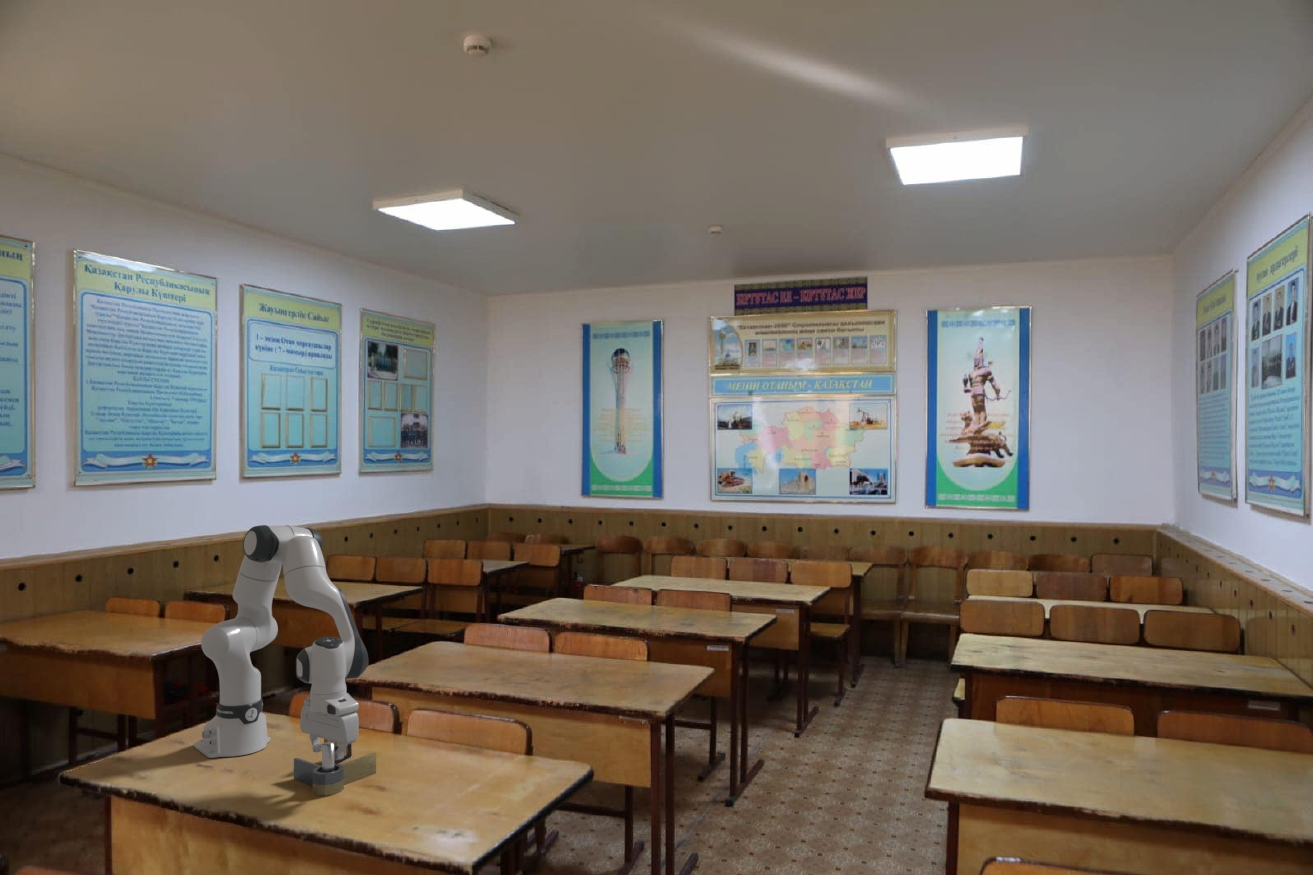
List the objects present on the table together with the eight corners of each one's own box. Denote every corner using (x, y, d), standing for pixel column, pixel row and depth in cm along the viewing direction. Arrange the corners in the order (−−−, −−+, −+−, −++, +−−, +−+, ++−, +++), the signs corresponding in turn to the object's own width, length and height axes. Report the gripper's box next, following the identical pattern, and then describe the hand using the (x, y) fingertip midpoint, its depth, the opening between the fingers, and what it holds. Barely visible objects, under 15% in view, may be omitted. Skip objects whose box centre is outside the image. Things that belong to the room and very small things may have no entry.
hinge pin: (319, 790, 222) (319, 744, 223) (329, 787, 225) (329, 740, 225) (326, 793, 221) (326, 746, 221) (336, 789, 223) (336, 743, 223)
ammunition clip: (327, 769, 238) (327, 725, 238) (321, 768, 238) (322, 725, 239) (351, 756, 248) (352, 714, 248) (346, 755, 249) (346, 714, 249)
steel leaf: (282, 782, 228) (282, 762, 228) (307, 774, 234) (307, 754, 234) (324, 797, 217) (324, 776, 218) (349, 788, 224) (349, 767, 224)
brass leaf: (306, 791, 222) (307, 770, 222) (366, 770, 237) (366, 750, 237) (324, 797, 217) (324, 776, 218) (383, 775, 233) (383, 755, 233)
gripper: (293, 698, 226) (293, 750, 226) (341, 710, 215) (341, 766, 215) (315, 692, 232) (315, 744, 231) (363, 704, 220) (363, 758, 220)
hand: (328, 754), depth 223 cm, fingers open, 8 cm apart
